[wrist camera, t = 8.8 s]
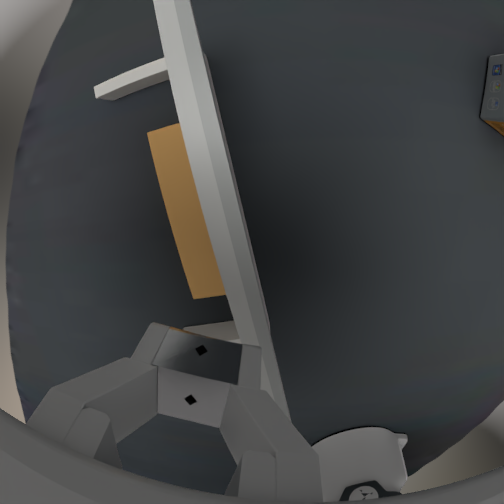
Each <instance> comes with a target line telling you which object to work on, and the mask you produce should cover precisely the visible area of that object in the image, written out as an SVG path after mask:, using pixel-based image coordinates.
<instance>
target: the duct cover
mask: <svg viewBox="0 0 504 504" xmlns="http://www.w3.org/2000/svg"><path fill="white" fill-rule="evenodd" d="M153 2H154V7H155V12H156V17H157V22H158V27H159V32H160V37H161V42H162V47H163V52H164V56H165V61H166V66H167V70H168V75H169V79H170V83H171V88H172V92H173V97H174V101H175V105H176V109H177V114H178V118H179V122H180V126H181V130H182V134H183V138H184V142H185V147H186V150H187V154H188V158H189V162H190V166H191V170H192V174H193V178H194V182H195V186H196V189H197V193H198V197H199V201H200V204H201V208H202V212H203V215H204V219H205V223H206V226H207V230H208V233H209V237H210V241H211V244H212V248H213V251H214V255H215V258H216V262H217V265H218V269H219V272H220V275H221V279H222V282H223V286H224V289H225V292H226V296H227V299H228V302H229V306H230V309H231V312H232V315H233V319H234V322H235V325H236V328H237V332H238V335H239V338H240V341H241V344H249V345H255V346H261V348H262V361H261V387H260V390H265V391H267V392H268V394H269V395H270V396H271V398H272V399H273V400H274V402H275V403H276V404H277V405H278V407H279V408H280V409H281V410H282V412H283V413H284V414H285V415H286V417H287V418H288V419H289V420H290V422H291V417H290V413H289V409H288V405H287V400H286V396H285V392H284V388H283V384H282V380H281V376H280V371H279V367H278V363H277V359H276V355H275V351H274V347H273V342H272V338H271V334H270V330H269V326H268V322H267V317H266V313H265V309H264V305H263V301H262V297H261V292H260V288H259V284H258V280H257V276H256V272H255V268H254V263H253V259H252V255H251V251H250V247H249V243H248V238H247V234H246V230H245V226H244V222H243V217H242V213H241V209H240V205H239V201H238V197H237V192H236V188H235V184H234V180H233V176H232V171H231V167H230V163H229V159H228V155H227V151H226V146H225V142H224V138H223V134H222V130H221V125H220V121H219V117H218V113H217V109H216V104H215V100H214V96H213V92H212V88H211V83H210V79H209V75H208V71H207V67H206V62H205V58H204V54H203V50H202V46H201V41H200V37H199V33H198V29H197V25H196V20H195V16H194V12H193V8H192V3H191V0H153Z"/></svg>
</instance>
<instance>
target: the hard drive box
mask: <svg viewBox="0 0 504 504" xmlns="http://www.w3.org/2000/svg"><path fill="white" fill-rule="evenodd" d="M480 117H481V119H482V120H484V121H485V122H486V123H488V124H489V125H490V126H492V127H493V128H494V129H496V130H497V131H498V132H499V133H500V134H501V135H503V136H504V54H499V55H492V56H491V57H489V63H488V72H487V79H486V86H485V93H484V99H483V104H482V110H481V116H480Z"/></svg>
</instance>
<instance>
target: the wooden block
mask: <svg viewBox="0 0 504 504" xmlns="http://www.w3.org/2000/svg"><path fill="white" fill-rule="evenodd" d="M147 135H148V139H149V144H150V148H151V152H152V156H153V160H154V165H155V169H156V173H157V176H158V180H159V184H160V188H161V192H162V196H163V199H164V203H165V207H166V210H167V214H168V218H169V221H170V225H171V228H172V232H173V235H174V238H175V242H176V245H177V249H178V252H179V255H180V258H181V262H182V265H183V268H184V271H185V274H186V278H187V281H188V284H189V287H190V290H191V293H192V296H193V299H199V298H206V297H213V296H221V295H226V292H225V289H224V286H223V282H222V279H221V275H220V272H219V269H218V265H217V262H216V258H215V255H214V251H213V248H212V244H211V241H210V237H209V233H208V230H207V226H206V223H205V219H204V215H203V212H202V208H201V204H200V201H199V197H198V193H197V189H196V186H195V182H194V178H193V174H192V170H191V166H190V162H189V158H188V154H187V150H186V147H185V142H184V138H183V134H182V130H181V126H180V123H178V124H174V125H171V126H167V127H164V128H161V129H157V130H154V131H151V132H148V133H147Z"/></svg>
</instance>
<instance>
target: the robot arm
mask: <svg viewBox="0 0 504 504" xmlns="http://www.w3.org/2000/svg"><path fill="white" fill-rule="evenodd" d="M261 361H262V348H261V346H255V345H249V344H240V343H235V342H230V341H225V340H221V339H216V338H212V337H207V336H204V335H200V334H196V333H192V332H189V331H185V330H181V329H178V328H174V327H169V326H166V325H163V324H159V323H155V322H153V323H151V324H150V325H149V327H148V328H147V330H146V332H145V334H144V335H143V337H142V339H141V341H140V342H139V344H138V346H137V348H136V349H135V351H134V353H133V355H132V356H131V358H127V357H124V358H121V359H119V360H117V361H115V362H112V363H110V364H108V365H105V366H103V367H101V368H98V369H96V370H93V371H91V372H89V373H86V374H84V375H81V376H79V377H77V378H74V379H72V380H69V381H67V382H64V383H62V384H59V385H57V386H54V387H52V388H50V390H49V391H48V393H47V394H46V396H45V397H44V398H43V400H42V401H41V403H40V404H39V406H38V407H37V408H36V410H35V411H34V413H33V414H32V416H31V417H30V419H29V420H28V422H27V423H26V424H24V423H22V422H21V421H19V420H18V419H16V418H14V417H13V416H11V415H10V414H8V413H6V412H5V411H4V410H2V409H1V408H0V504H504V466H502V467H499V468H496V469H494V470H491V471H488V472H486V473H483V474H480V475H477V476H474V477H471V478H468V479H465V480H462V481H458V482H454V483H451V484H447V485H444V486H440V487H436V488H431V489H427V490H422V491H418V492H413V493H407V494H401V493H400V490H401V488H402V487H403V486H404V484H405V482H406V481H407V479H408V477H407V472H406V467H405V463H404V458H403V454H402V449H403V447H404V446H405V444H406V443H407V441H408V438H407V435H406V434H395V433H393V432H391V431H390V430H388V429H384V428H379V427H367V428H358V429H353V430H349V431H345V432H341V433H338V434H335V435H333V436H330V437H328V438H325V439H323V440H321V441H320V442H318V443H316V444H315V445H313V446H312V447H311V446H310V445H309V443H308V442H307V441H306V440H305V439H304V437H303V436H302V435H301V434H300V433H299V431H298V430H297V429H296V428H295V427H294V425H293V424H292V423H291V422H290V420H289V419H288V418H287V417H286V415H285V414H284V413H283V412H282V410H281V409H280V408H279V407H278V405H277V404H276V403H275V402H274V400H273V399H272V398H271V396H270V395H269V394H268V392H267V391H265V390H260V387H261ZM157 413H160V414H164V415H168V416H172V417H176V418H181V419H185V420H189V421H193V422H197V423H201V424H205V425H209V426H214V427H218V428H219V430H220V432H221V434H222V436H223V438H224V440H225V442H226V444H227V446H228V448H229V450H230V452H231V454H232V456H233V458H234V460H235V462H236V464H237V468H236V470H235V472H234V475H233V477H232V479H231V481H230V483H229V485H228V487H227V490H226V492H225V495H219V494H213V493H208V492H203V491H198V490H193V489H188V488H184V487H180V486H175V485H171V484H168V483H164V482H160V481H157V480H153V479H150V478H146V477H143V476H140V475H137V474H134V473H131V472H128V471H125V470H122V464H121V461H120V457H119V453H118V449H117V446H116V443H118V442H119V441H121V440H122V439H123V438H125V437H126V436H128V435H129V434H130V433H132V432H133V431H135V430H136V429H137V428H139V427H140V426H142V425H143V424H144V423H146V422H147V421H149V420H150V419H151V418H153V417H154V416H155V415H157Z"/></svg>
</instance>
